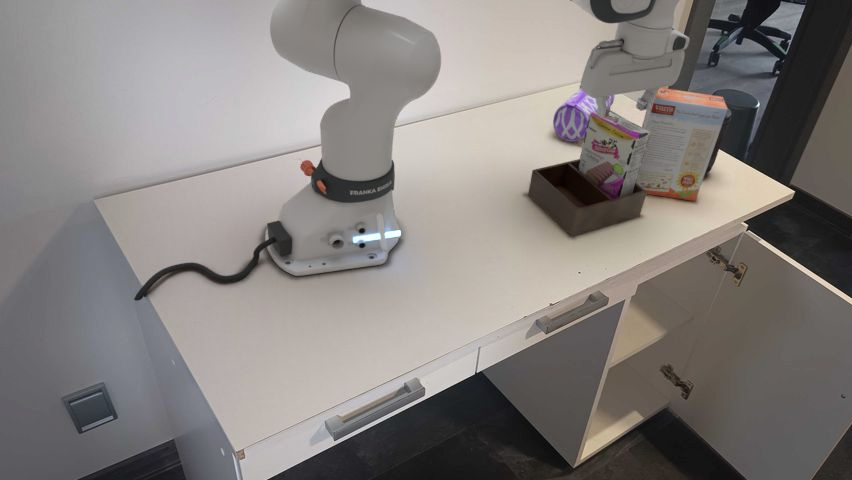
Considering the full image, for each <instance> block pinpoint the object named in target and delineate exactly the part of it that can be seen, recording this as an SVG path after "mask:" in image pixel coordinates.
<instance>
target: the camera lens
mask: <svg viewBox="0 0 852 480" xmlns="http://www.w3.org/2000/svg"><path fill="white" fill-rule="evenodd" d="M727 109H728V110H727V113H726V115H725V118H724V121H723V124H722V127H721V129H720V132H719V135H718V138H717V141H716V144H715V147H714V149H713V152H712V155H711V158H710V161H709V164H708V167H707V169H706V172H705V175H704V178H703V179H705V178H707V176H708V174H709V172H711V171H712V169H713V166H714V164H715V163H716V159H717V157H718V153H719V150H720V148H721V145H722V143H723V139H724V138H725V135H726V133H727V130H728V128H729V125H730V123H731V120H732V119H731V118H732V117H731V116H732V111H731V109H730V108H728V107H727Z"/></svg>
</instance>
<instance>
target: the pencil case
mask: <svg viewBox="0 0 852 480" xmlns="http://www.w3.org/2000/svg"><path fill="white" fill-rule="evenodd" d="M614 101H615V95H611V96H609V100H608V101H606V105H607V107H609V108H611V106H612V105H613V104H614ZM597 108H598V105H597V102H596V98H592V97H590V96H588V95H587V94H586V93H584V92H583V91H582V89H581V86H580V85H579V89H578V90H577V91H576V92H575V93H573V94H572V95H571V96H570V97H569V98H567V100H566V101H564V102H563V103H562V104H561V105H560V106H559V107H558V108H557V109H556V111H555V113H554V115H553V121H552V122H553V123H552V125H553V130H554V132H555V134H556V135H557V136H558V137H559V138H561V139H563V140H564V141H567V142H578V141H581V140H582V139H584V138H585V133H586V129H587V125H588V120H589V116H590V114H591V113H592V112H596V111H597Z"/></svg>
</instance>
